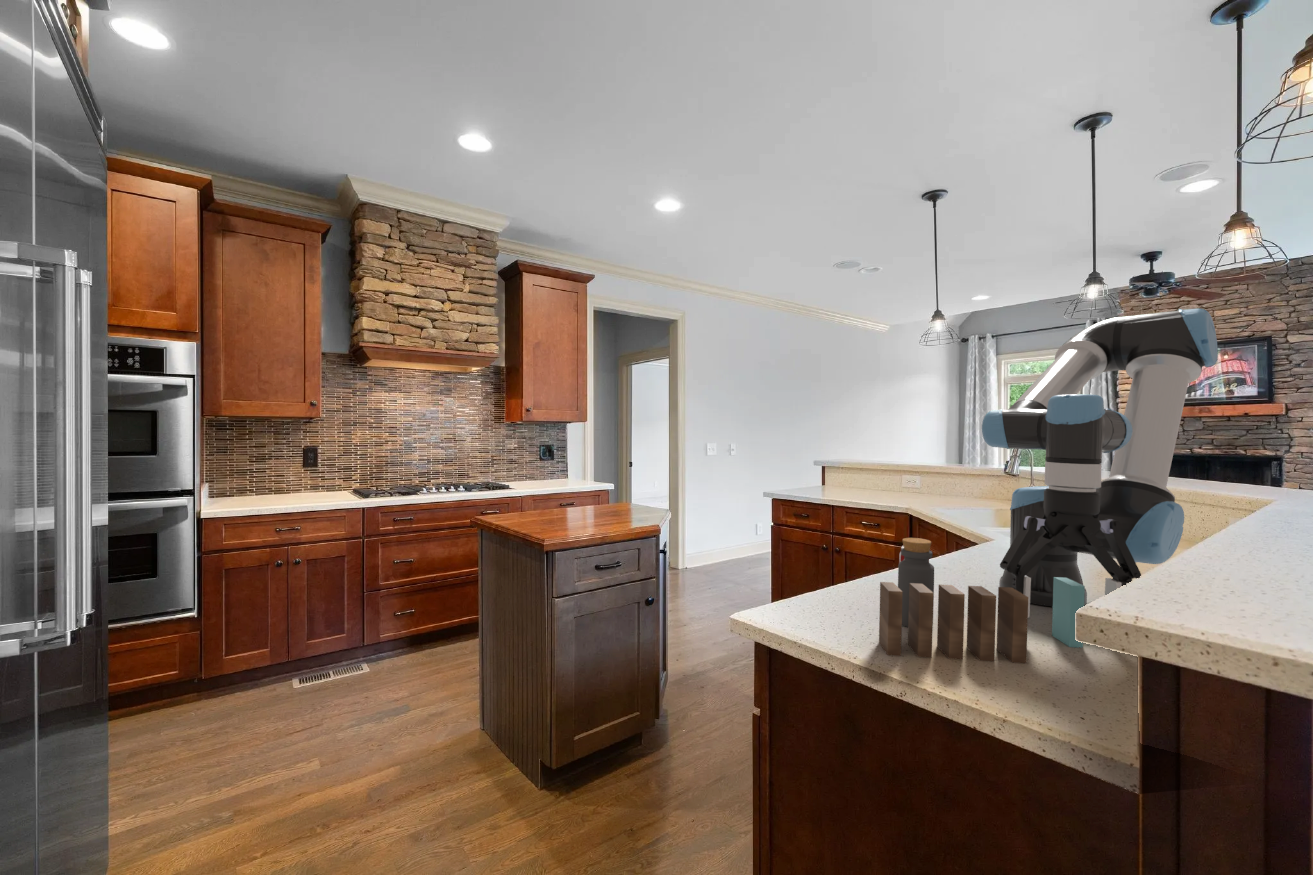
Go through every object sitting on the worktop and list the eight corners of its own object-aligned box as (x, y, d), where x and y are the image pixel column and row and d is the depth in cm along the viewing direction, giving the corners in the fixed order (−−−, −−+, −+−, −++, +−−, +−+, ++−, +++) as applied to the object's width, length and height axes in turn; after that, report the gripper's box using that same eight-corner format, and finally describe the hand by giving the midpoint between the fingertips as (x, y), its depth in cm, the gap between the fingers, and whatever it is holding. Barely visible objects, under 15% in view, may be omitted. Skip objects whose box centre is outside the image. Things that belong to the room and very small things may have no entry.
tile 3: (979, 648, 91) (981, 586, 91) (994, 661, 86) (996, 595, 86) (966, 647, 92) (968, 585, 91) (980, 660, 87) (982, 595, 86)
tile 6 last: (891, 643, 93) (893, 582, 93) (901, 655, 88) (902, 591, 88) (878, 642, 93) (880, 581, 93) (887, 655, 88) (888, 590, 88)
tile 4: (950, 646, 92) (951, 584, 92) (962, 659, 87) (964, 594, 87) (937, 645, 92) (938, 584, 92) (948, 658, 87) (950, 593, 87)
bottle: (891, 623, 102) (893, 540, 102) (905, 615, 106) (906, 535, 106) (925, 632, 98) (927, 545, 98) (938, 624, 102) (940, 540, 102)
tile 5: (920, 645, 92) (922, 583, 92) (931, 657, 87) (933, 592, 87) (907, 644, 93) (909, 583, 92) (918, 656, 88) (919, 592, 87)
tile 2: (1009, 649, 91) (1011, 587, 90) (1026, 663, 86) (1028, 597, 86) (996, 649, 91) (998, 586, 91) (1012, 662, 86) (1014, 596, 86)
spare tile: (1064, 636, 97) (1066, 577, 97) (1082, 647, 92) (1084, 586, 92) (1051, 635, 97) (1053, 577, 97) (1069, 646, 92) (1071, 585, 92)
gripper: (1138, 488, 96) (1133, 614, 97) (981, 483, 99) (976, 605, 100) (1173, 494, 89) (1167, 630, 89) (1001, 488, 92) (997, 620, 92)
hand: (1066, 617), depth 94 cm, fingers open, 13 cm apart
